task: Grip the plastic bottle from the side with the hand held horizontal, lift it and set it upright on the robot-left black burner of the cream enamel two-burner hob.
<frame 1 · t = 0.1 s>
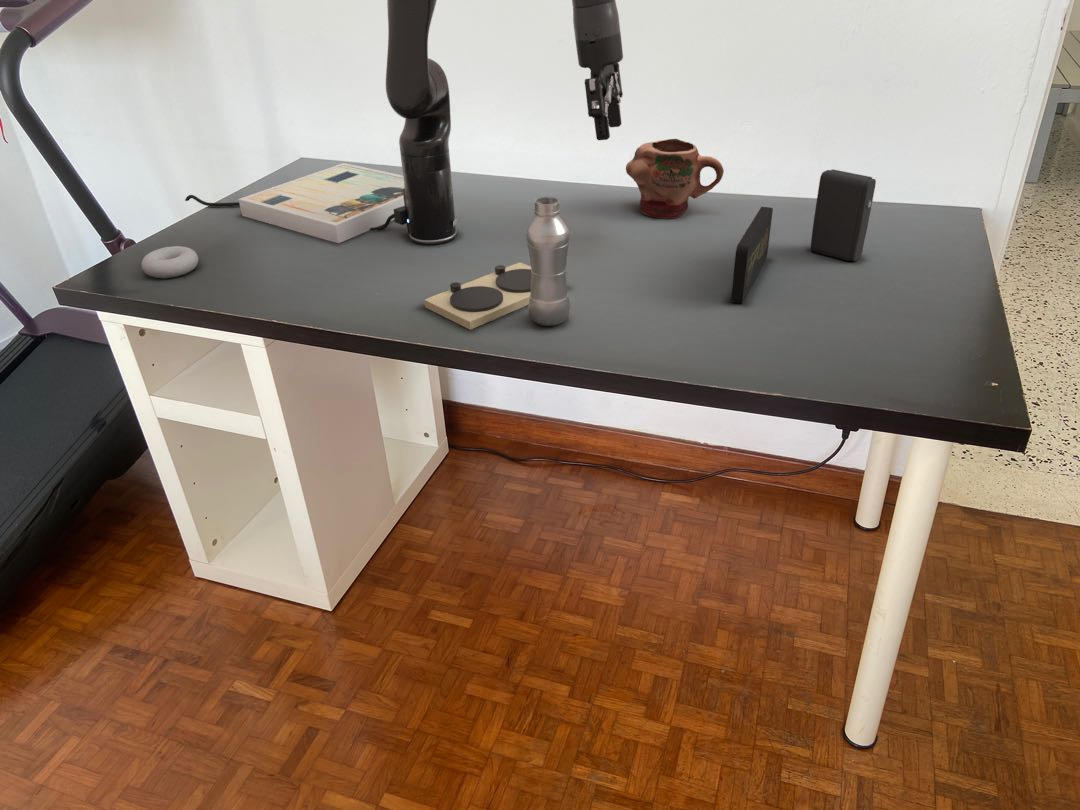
hand: (609, 132, 147), 22 cm above the table, tool pointing down, fingers open, 8 cm apart
dark grey upright block: (835, 256, 155), on the table
animal head mug: (671, 212, 177), on the table
nameplate: (749, 281, 147), on the table
donut: (172, 271, 158), on the table
plastic bottle: (549, 322, 136), on the table
hob: (496, 297, 144), on the table
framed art: (342, 208, 185), on the table
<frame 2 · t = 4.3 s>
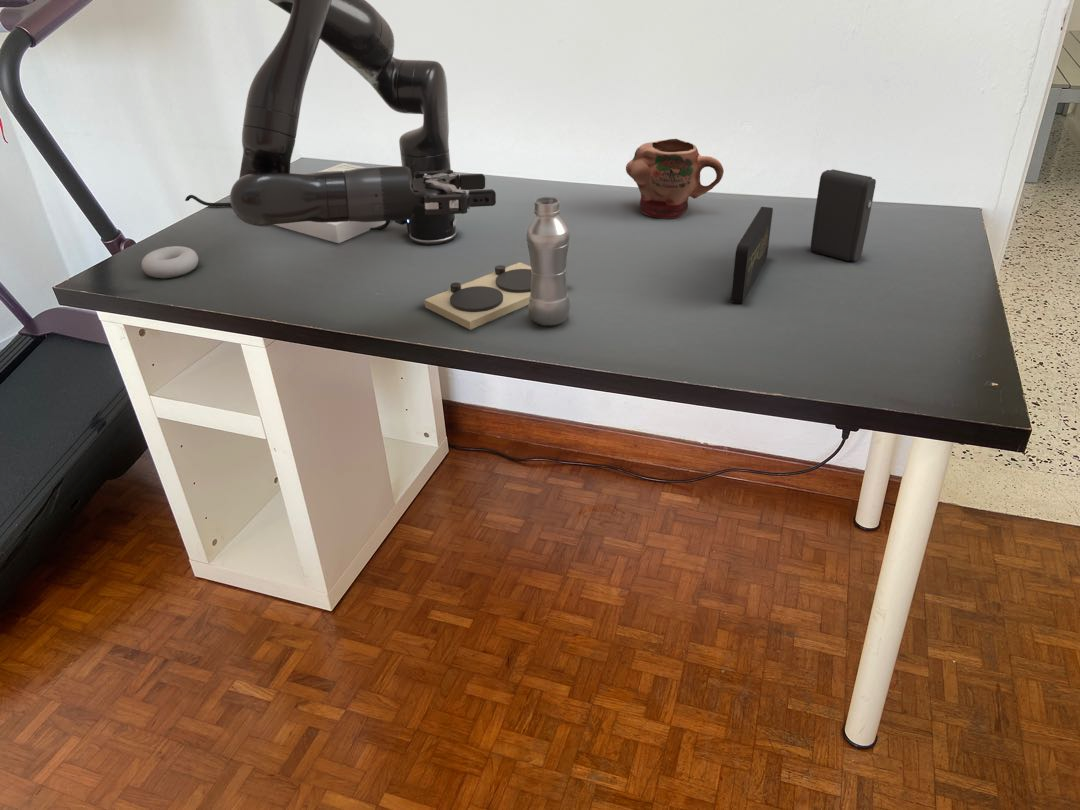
hand: (489, 189, 124), 22 cm above the table, tool horizontal, fingers open, 8 cm apart
nothing on the table moved.
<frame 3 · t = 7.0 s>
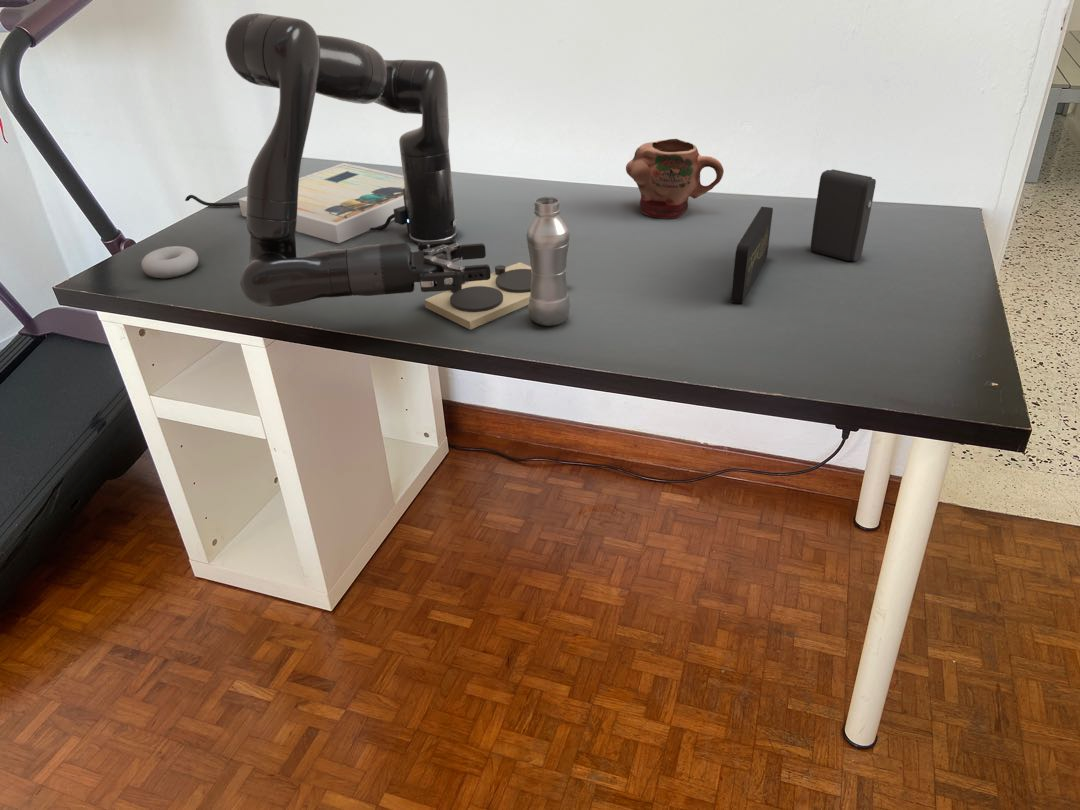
hand: (487, 260, 129), 11 cm above the table, tool horizontal, fingers open, 8 cm apart
nothing on the table moved.
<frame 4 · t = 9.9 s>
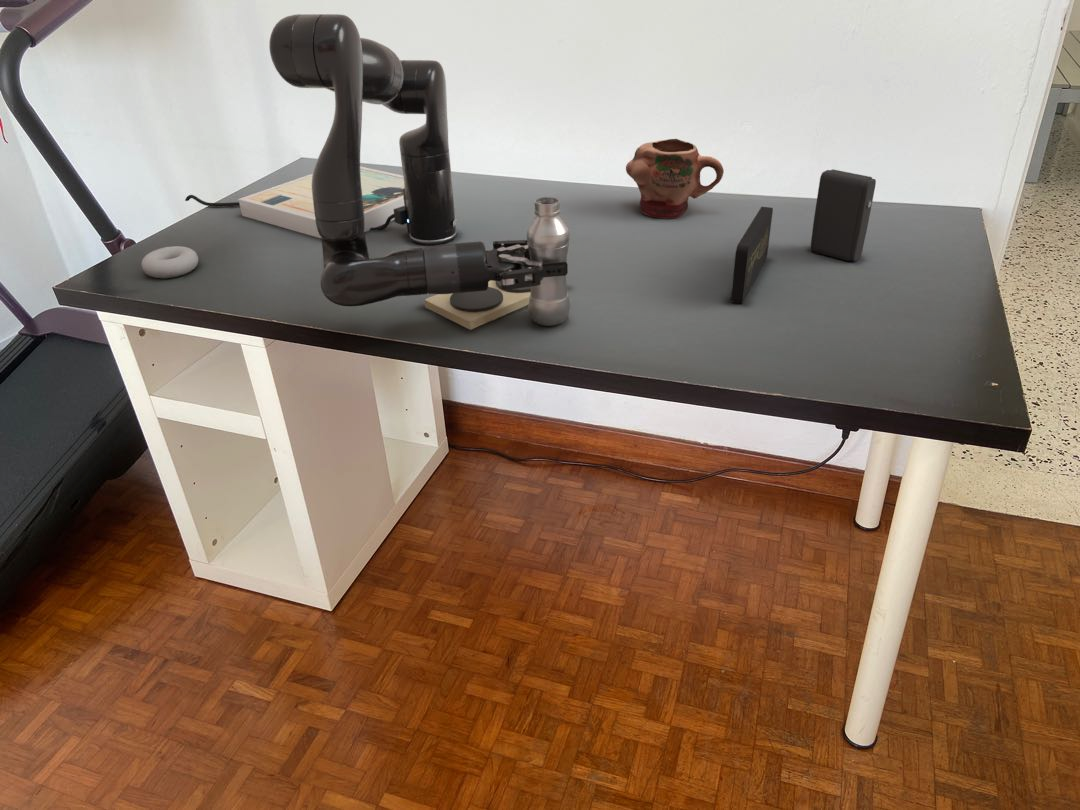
hand: (563, 259, 130), 11 cm above the table, tool horizontal, fingers closed on plastic bottle, 6 cm apart
plastic bottle: (549, 322, 136), on the table, touching gripper
everything else where it was.
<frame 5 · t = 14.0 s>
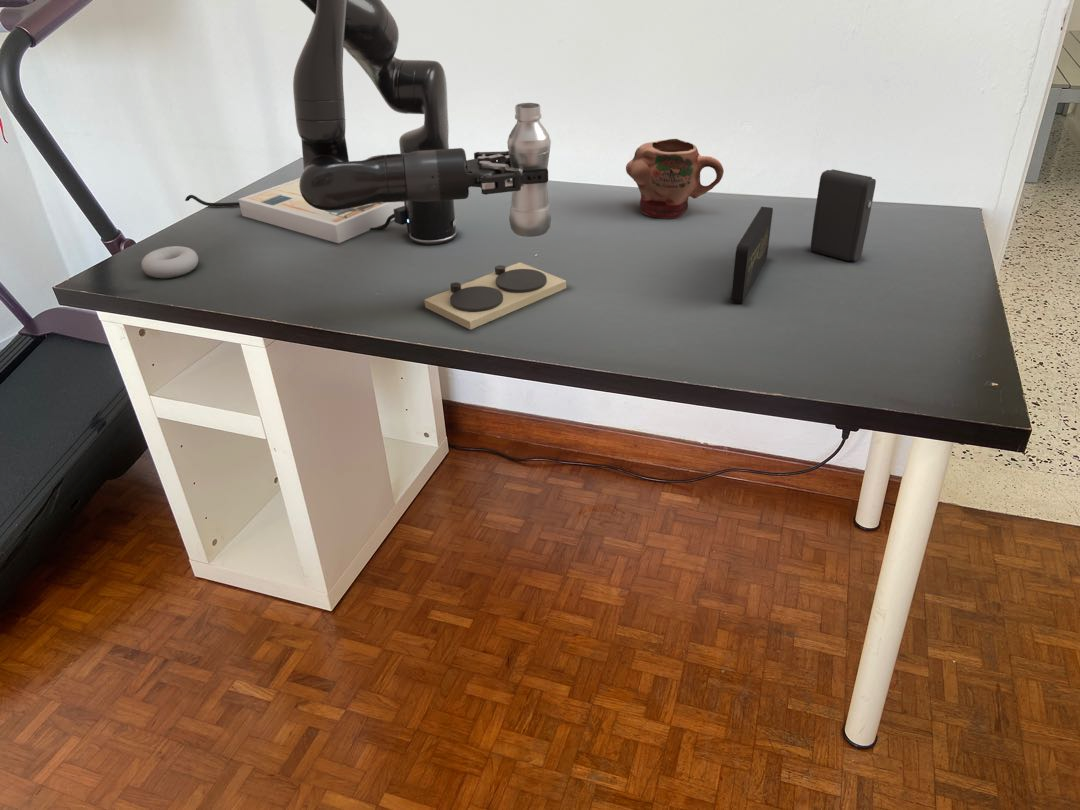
hand: (544, 168, 130), 23 cm above the table, tool horizontal, fingers closed on plastic bottle, 6 cm apart
plastic bottle: (530, 235, 135), point 12 cm above the table, touching gripper
everything else where it was.
when the fingers open (13 cm above the table, at t = 18.1 s): plastic bottle stays where it is, resting on hob.
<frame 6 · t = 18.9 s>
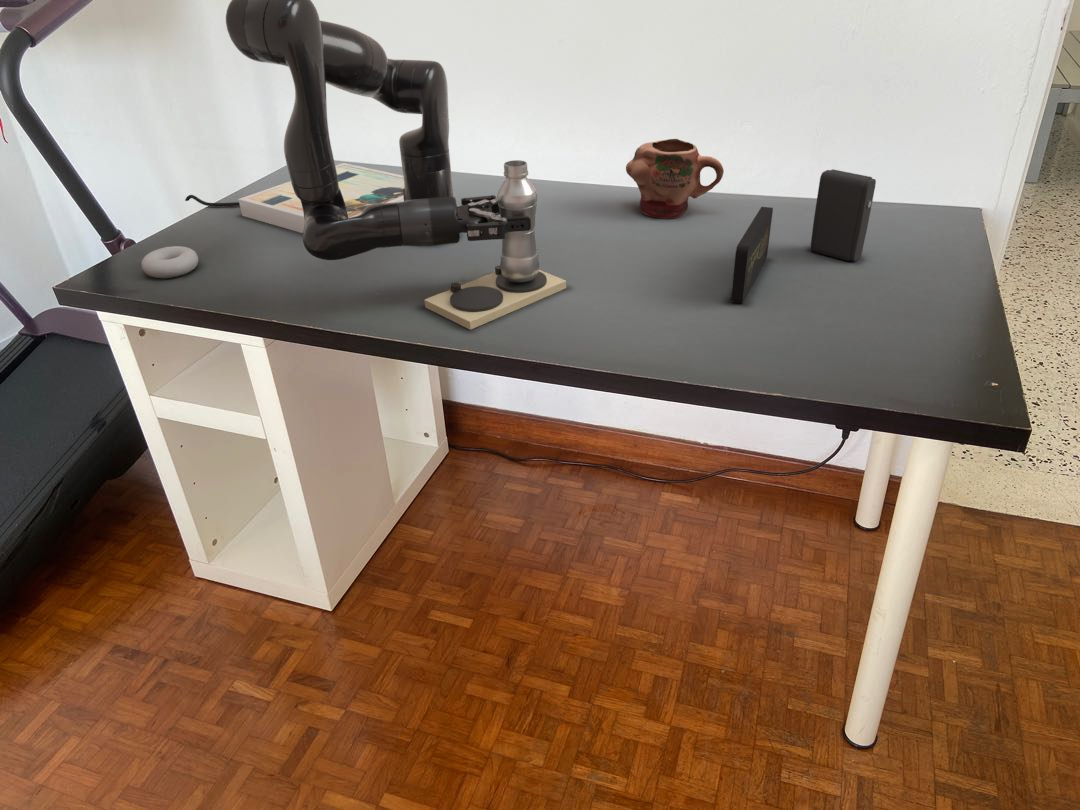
hand: (526, 213, 139), 14 cm above the table, tool horizontal, fingers open, 8 cm apart
plastic bottle: (520, 280, 145), point 2 cm above the table, touching hob
everything else where it was.
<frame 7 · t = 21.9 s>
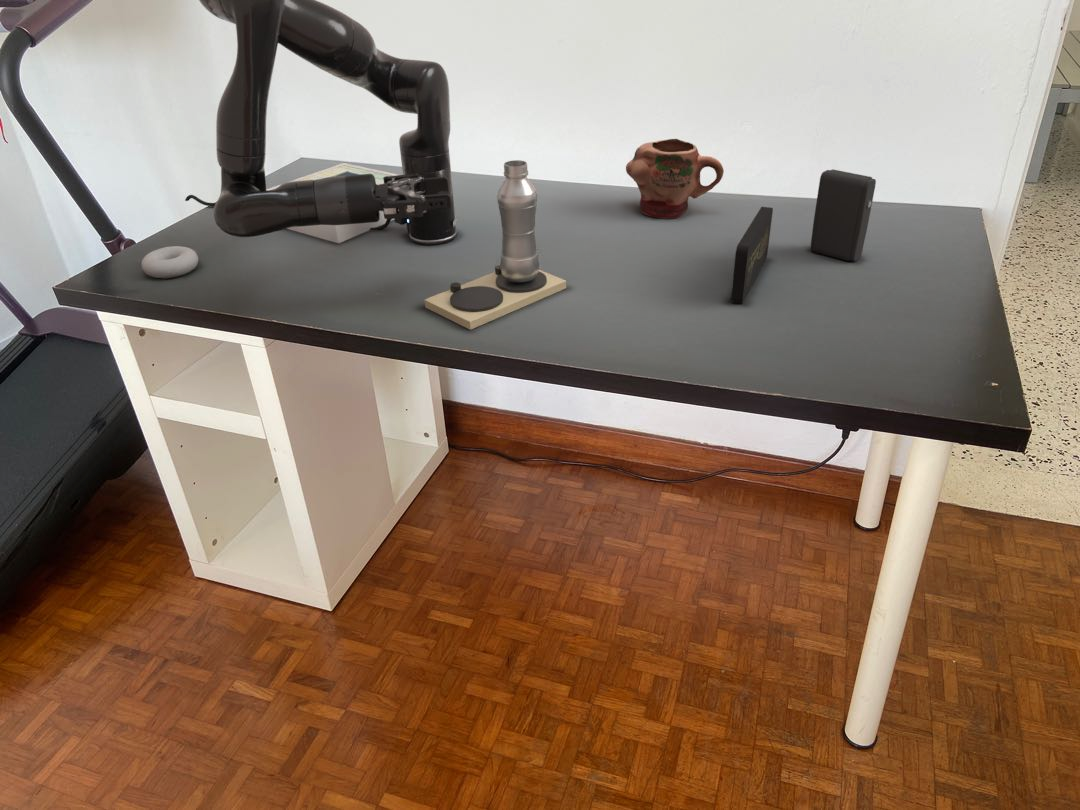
hand: (448, 192, 135), 18 cm above the table, tool horizontal, fingers open, 8 cm apart
nothing on the table moved.
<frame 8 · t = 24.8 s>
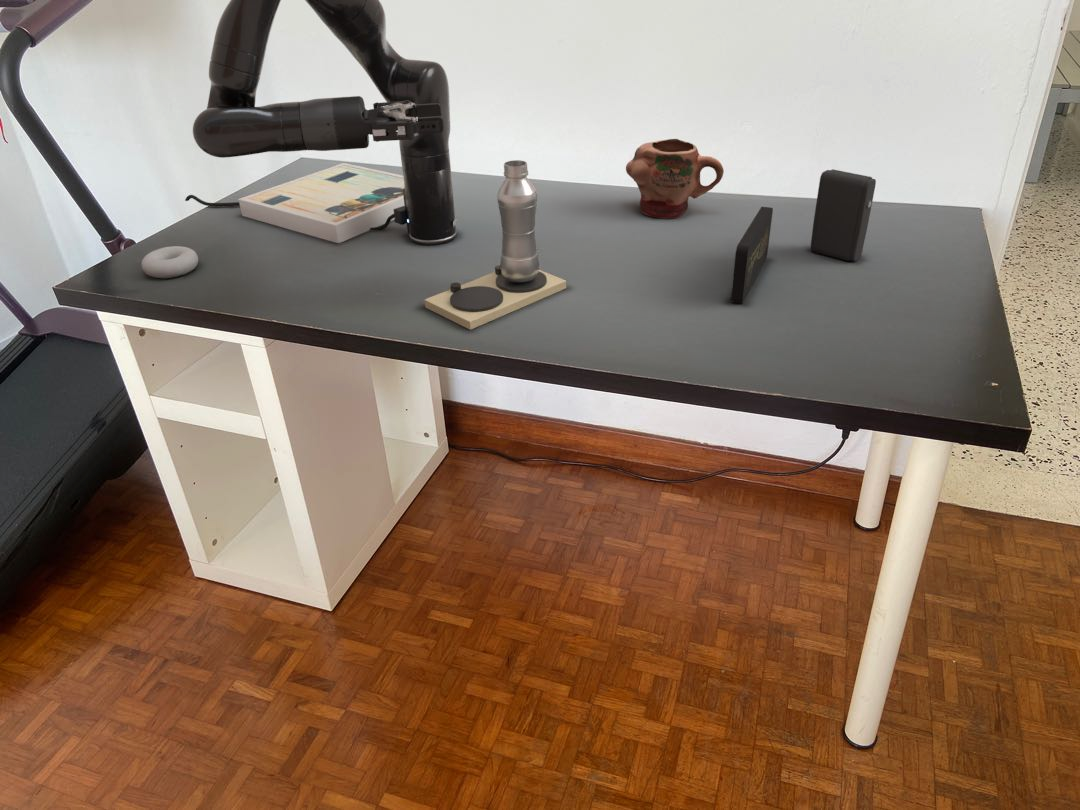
hand: (441, 117, 129), 30 cm above the table, tool horizontal, fingers open, 8 cm apart
nothing on the table moved.
at the end: plastic bottle 0.2 cm from the target spot on the hob, point 1.9 cm above the hob's base; plastic bottle tilted 0°; the gripper is holding nothing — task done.
